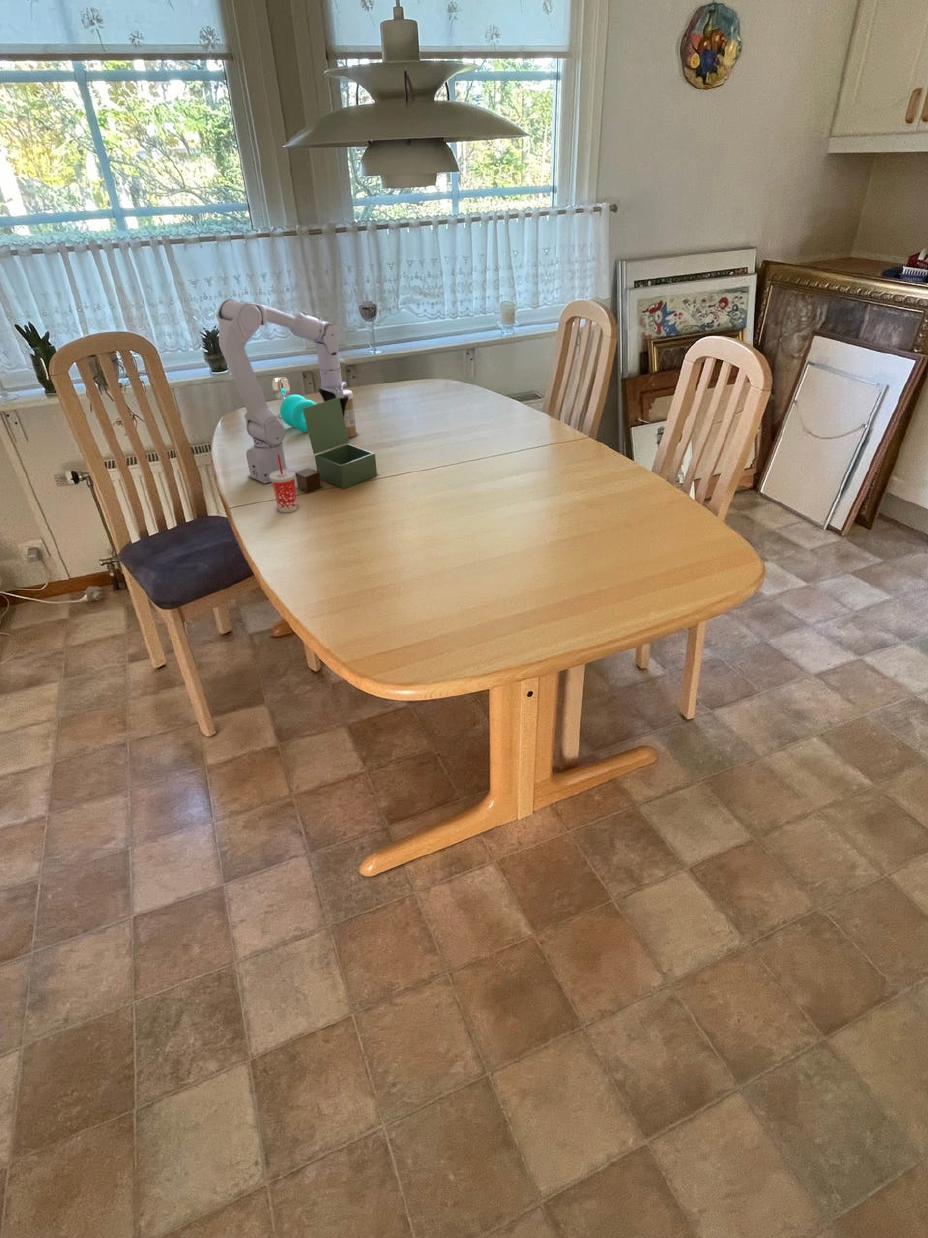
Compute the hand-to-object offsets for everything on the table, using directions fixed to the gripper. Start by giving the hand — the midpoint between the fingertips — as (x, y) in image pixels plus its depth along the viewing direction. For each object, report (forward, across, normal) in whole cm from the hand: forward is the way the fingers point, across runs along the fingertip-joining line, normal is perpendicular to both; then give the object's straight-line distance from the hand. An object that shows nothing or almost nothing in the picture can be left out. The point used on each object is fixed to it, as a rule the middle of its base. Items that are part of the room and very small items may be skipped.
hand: (335, 417), depth 198 cm
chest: (+10, -19, +4) cm, 22 cm away
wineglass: (+10, +40, +6) cm, 42 cm away
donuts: (+10, +24, +5) cm, 27 cm away
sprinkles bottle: (+10, +12, -7) cm, 17 cm away
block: (+10, -22, +15) cm, 28 cm away
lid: (-2, -13, +6) cm, 14 cm away
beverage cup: (+10, -31, +23) cm, 40 cm away
